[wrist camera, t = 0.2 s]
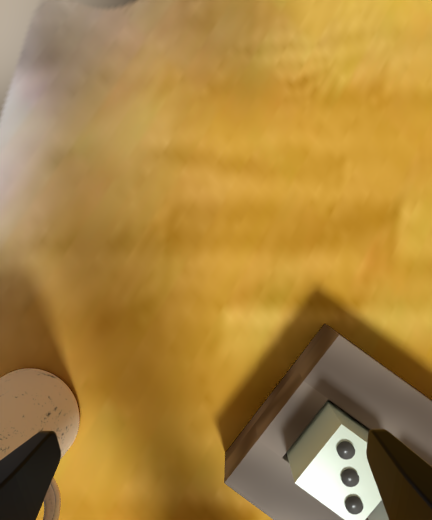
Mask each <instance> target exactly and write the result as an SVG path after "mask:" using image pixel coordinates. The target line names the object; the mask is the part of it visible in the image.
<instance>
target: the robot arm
mask: <svg viewBox="0 0 432 520" xmlns="http://www.w3.org/2000/svg"><path fill="white" fill-rule="evenodd" d="M366 455H367V460H368V463H369V466H370V469H371V471H372V474H373V477H374V480H375V482H376V485H377V488H378V491H379V493H380V496H381V499H382V502H383V504H384V507H385V510H386V513H387V516H388V518H389V520H432V466H430V465H429V464H428V463H427V462H425V461H424V460H423V459H422V458H421V457H419V456H418V455H417V454H416V453H414V452H413V451H412V450H411V449H410V448H408V447H407V446H406V445H405V444H403V443H402V442H401V441H400V440H399V439H397V438H396V437H395V436H394V435H392V434H391V433H390V432H389V431H387V430H385V429H370V430H369V433H368V441H367V449H366ZM60 458H61V450H60V446H59V442H58V438H57V435H56V433H55V432H54V431H40V432H38V433H37V434H35V435H34V436H32V437H31V438H30V439H28V440H27V441H26V442H24V443H23V444H22V445H20V446H19V447H18V448H16V449H15V450H13V451H12V452H11V453H9V454H8V455H7V456H5V457H4V458H3V459H1V460H0V520H36V518H37V515H38V513H39V511H40V508H41V506H42V503H43V501H44V498H45V496H46V493H47V491H48V489H49V486H50V484H51V481H52V479H53V476H54V474H55V471H56V469H57V467H58V464H59V461H60Z"/></svg>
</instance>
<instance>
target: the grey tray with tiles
mask: <svg viewBox="0 0 432 520" xmlns="http://www.w3.org/2000/svg"><path fill="white" fill-rule="evenodd" d="M327 400H328V401H330V402H331V403H332V404H334V405H335V406H336V407H338V408H339V409H341V410H342V411H343V412H345V413H346V414H347V415H349V416H350V417H352V418H353V419H354V420H356V421H357V422H358V423H360V424H361V425H363V426H364V427H365V428H367V429H368V430H370V429H385V430H387V431H389V432H390V433H391V434H392V435H394V436H395V437H396V438H397V439H399V440H400V441H401V442H402V443H403V444H405V445H406V446H407V447H408V448H410V449H411V450H412V451H413V452H414V453H416V454H417V455H418V456H419V457H421V458H422V459H423V460H424V461H425V462H427V463H428V464H429V465H430V466H432V400H431V399H429V398H428V397H426V396H425V395H424V394H422V393H421V392H419V391H418V390H417V389H415V388H414V387H412V386H411V385H410V384H408V383H407V382H406V381H404V380H403V379H401V378H400V377H399V376H397V375H396V374H394V373H393V372H392V371H390V370H389V369H387V368H386V367H385V366H383V365H382V364H381V363H379V362H378V361H376V360H375V359H374V358H372V357H371V356H369V355H368V354H367V353H365V352H364V351H362V350H361V349H360V348H358V347H357V346H356V345H354V344H353V343H351V342H350V341H349V340H347V339H346V338H344V337H343V336H342V335H340V334H339V333H338V332H336V331H335V330H333V329H332V328H331V327H329V326H328V325H326V324H324V325H323V326H322V328H321V329H320V330H319V332H318V333H317V334H316V336H315V337H314V338H313V340H312V341H311V342H310V343H309V345H308V346H307V347H306V349H305V350H304V351H303V353H302V354H301V355H300V356H299V358H298V359H297V360H296V362H295V363H294V364H293V366H292V367H291V368H290V369H289V371H288V372H287V373H286V375H285V376H284V377H283V379H282V380H281V381H280V382H279V384H278V385H277V386H276V388H275V389H274V390H273V392H272V393H271V394H270V396H269V397H268V398H267V399H266V401H265V402H264V403H263V405H262V406H261V407H260V409H259V410H258V411H257V412H256V414H255V415H254V416H253V418H252V419H251V420H250V422H249V423H248V424H247V425H246V427H245V428H244V429H243V431H242V432H241V433H240V435H239V436H238V437H237V438H236V440H235V441H234V442H233V444H232V445H231V446H230V448H229V449H228V450H227V451H226V453H225V477H224V483H225V484H226V485H228V486H229V487H230V488H232V489H233V490H234V491H236V492H237V493H238V494H240V495H241V496H242V497H244V498H245V499H246V500H248V501H249V502H250V503H252V504H253V505H255V506H256V507H257V508H259V509H260V510H261V511H263V512H264V513H265V514H267V515H268V516H269V517H271V518H272V519H273V520H344V519H343V518H342V517H340V516H339V515H338V514H336V513H335V512H333V511H332V510H331V509H329V508H328V507H327V506H325V505H324V504H323V503H321V502H320V501H319V500H317V499H316V498H314V497H313V496H312V495H310V494H309V493H308V492H306V491H305V490H304V489H302V488H301V487H299V486H298V485H297V484H295V482H294V479H293V475H292V471H291V468H290V464H289V460H288V456H287V453H286V452H287V451H288V450H289V448H290V447H291V446H292V445H293V443H294V442H295V441H296V440H297V438H298V437H299V436H300V434H301V433H302V432H303V431H304V429H305V428H306V427H307V426H308V424H309V423H310V422H311V421H312V419H313V418H314V417H315V415H316V414H317V413H318V412H319V410H320V409H321V408H322V407H323V405H324V404H325V403H326V401H327ZM365 520H368V518H366V519H365Z"/></svg>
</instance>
